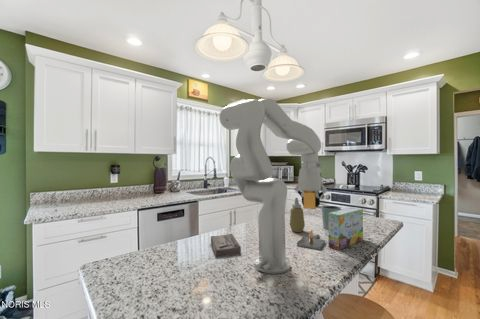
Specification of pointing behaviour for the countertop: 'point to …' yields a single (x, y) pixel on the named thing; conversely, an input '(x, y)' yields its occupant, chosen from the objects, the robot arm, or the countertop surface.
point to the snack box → (345, 227)
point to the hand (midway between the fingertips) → (310, 205)
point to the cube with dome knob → (309, 200)
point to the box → (225, 245)
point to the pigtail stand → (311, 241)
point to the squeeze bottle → (297, 217)
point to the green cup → (325, 214)
